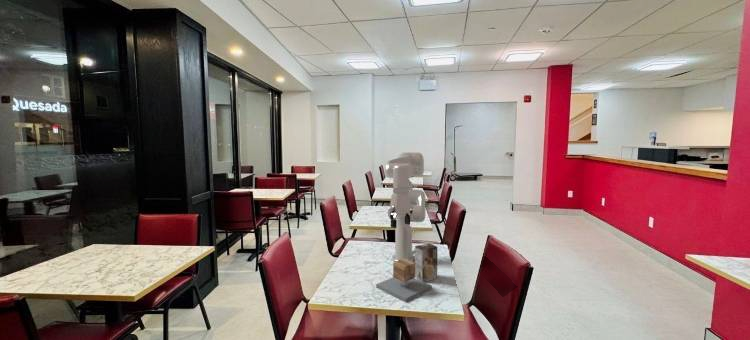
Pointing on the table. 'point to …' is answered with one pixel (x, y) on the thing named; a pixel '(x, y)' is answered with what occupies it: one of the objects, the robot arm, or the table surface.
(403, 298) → the post stand
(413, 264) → the brown wooden cube
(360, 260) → the table surface
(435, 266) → the coffee box
